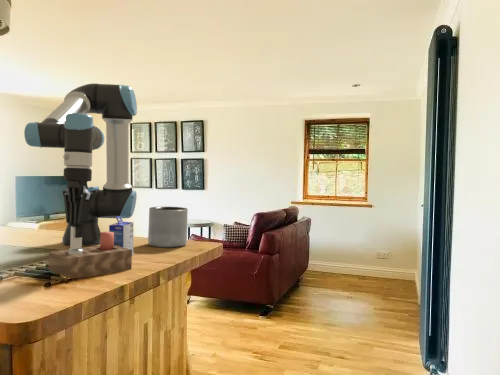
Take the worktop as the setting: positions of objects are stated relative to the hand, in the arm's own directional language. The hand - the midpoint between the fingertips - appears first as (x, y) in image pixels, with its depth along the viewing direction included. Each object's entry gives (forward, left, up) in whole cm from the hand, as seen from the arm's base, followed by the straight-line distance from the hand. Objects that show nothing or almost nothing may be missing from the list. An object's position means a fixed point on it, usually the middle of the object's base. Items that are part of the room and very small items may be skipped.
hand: (75, 248), depth 119 cm
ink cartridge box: (-10, +22, -8) cm, 25 cm away
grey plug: (0, 0, -6) cm, 6 cm away
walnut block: (0, +5, -7) cm, 9 cm away
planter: (-20, +51, -8) cm, 55 cm away
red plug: (0, +10, -2) cm, 10 cm away
